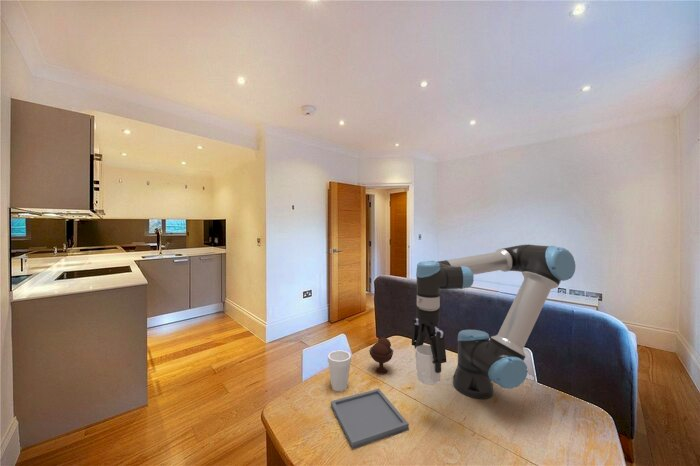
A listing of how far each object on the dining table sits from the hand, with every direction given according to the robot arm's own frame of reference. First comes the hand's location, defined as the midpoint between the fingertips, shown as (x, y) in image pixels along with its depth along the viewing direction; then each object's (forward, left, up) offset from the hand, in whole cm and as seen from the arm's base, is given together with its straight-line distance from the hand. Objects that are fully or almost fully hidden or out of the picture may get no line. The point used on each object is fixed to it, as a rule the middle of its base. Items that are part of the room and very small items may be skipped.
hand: (427, 374), depth 88 cm
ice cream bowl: (-1, -33, -16) cm, 37 cm away
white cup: (0, 0, -2) cm, 2 cm away
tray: (+18, -9, -16) cm, 26 cm away
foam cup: (+21, -29, -16) cm, 40 cm away
